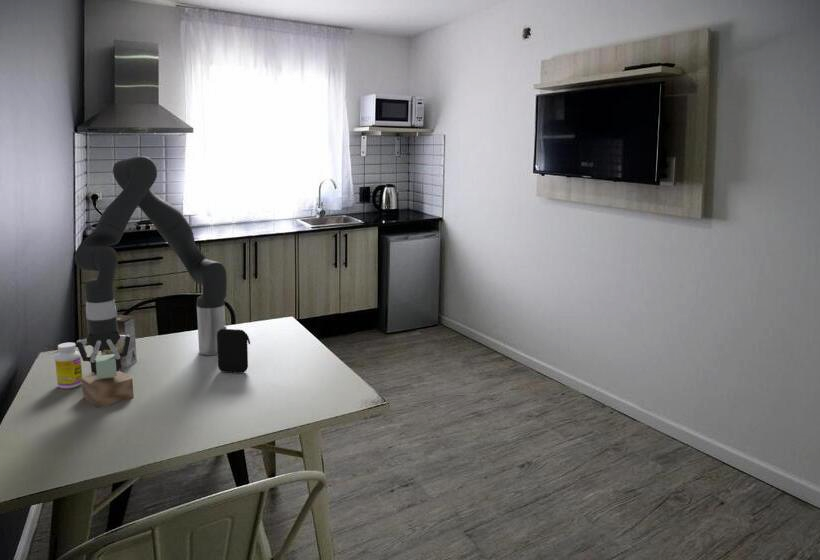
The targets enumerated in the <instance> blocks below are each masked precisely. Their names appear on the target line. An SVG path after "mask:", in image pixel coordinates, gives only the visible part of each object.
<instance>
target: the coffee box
mask: <svg viewBox="0 0 820 560" xmlns="http://www.w3.org/2000/svg"><path fill="white" fill-rule="evenodd" d="M116 315H117V327H118V332H119V334H120V335H127V334H129V335H130V342H129V348H128V353H127V356H124V357H122V358H121V368H129V366H131V365H133V364H134V363H136V362H137V361H138V360H137V359H138V358H137V345H136V344H137V342H136V327H135V316H134V315H126V314H125V315H124V314H116ZM123 345H124V343H123V342H122V340H121V339H119V340H118V342H117V343H116V347H117V349H118V351H119V352H122V350H123ZM100 353H101V355H109V354H113V352H112V351H111V350H102V351H100Z"/></svg>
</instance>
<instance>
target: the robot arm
mask: <svg viewBox="0 0 820 560" xmlns="http://www.w3.org/2000/svg"><path fill="white" fill-rule="evenodd" d="M112 174H113V178H114V179H115V181H116V183H117V184H118V186H119V187H120V188H121V189H122V191H121V192H120V193H119V194H118V195H117V196H116V197H115V199H113V201H112V202H111V203H110V204H109V205H108V206H107V207H106V208H105V209H104V211H103V212H102V214H101V215H100V218H99V220H98V222H97V223H96V226H95V227H94V229H93V231H92V232H91V233H90V234H88V236H86V238H84V240H83V241H82V242H81V243H80V244H79V246H78V247H77V249H76V250H75V254H74V262H75V266H77V267H78V268H79V269H81V270H83V271H92V272H93V271H94V272H98V276H97V277H95V278H91V279H88V280H86V281H85V283H84V293H85V317H86V324H87V325H86V327H87V336H86V338H83V339H77V340H76V348H77V350H78V352H79V353H80V356H81V360H82V361H83V362H89V364H90V369H91V370H90V371H91V373H92V374H93V375H97V370H96V356H98V353H99V352H101V351H102V350H111V351H112V352H113V354H114V356H115V359H116V371H120V370H121V369H122V367H121V358H122V357H124V356H127V353H128V348H129V342H130V335H129V334H127V335H120V334H119V332H118V327H117V315H118V313H117V312H118V311H117V307H116V302H115V301H116V300H115V293H114V292H115V291H114V282H115V277H116V271H117V268H118V264H119V263H118V261H119V257H118V254H117V251H116V250H115V249H114V248H113V247H112V246H115V245H117V244H118V243H119V242H120V241H121V239H122V237H123V235H124V233H125V230H126V228H127V226H128V224H129V222H130V220H131V217H132V216H133V214H134V212H135V211H136V209H137V208H138V207H139V209H140V210H141V211H142V212H143V213H144V215H145V216H146V218H148V221H150V222H151V223H152V224H153V226H154V228H155V229H156V230H157V232H158V233H159V235H160V236H161V237H162V238H163V240H164V241H165V242H166V243H167V244H168V245H169V247H170V249H172V251H173V252H174V253H175V254H176V256H177V257H178V258H179V259H180V261H181V262H182V264H183V265H184V267H185V269H186V270H187V272H188V274H189V276H190V277H191V279H192V280H193V281H194V282H195V283H196V284H198V285H200V286H202V295H200V296H198V297H196V315H197V316H196V317H197V318H196V319H197V336H198V351H199V354H201V355H203V356H216V355H217V354H218V350H217V332H218V331H219V330H220V329H228V328H227V327H228V326H227V325H226V314H225V312H226V311H225V300H226V296H227V282H228V281H227V279H228V278H227V271H226V268H225V265H224V264H223V263H221V262H219V261H216V260H211V259H209V258H207V257H206V256H205V255H204V254H203V253H202V251H201V250H200V248H199V247H198V245H197V244H196V241H195V236H194V232H193V228H192V226H191V225H190V223H189V222H188V221H187V220H186V218H185V216H184V215H183V214H182V213H181V212H180V210H178V208H176V207H175V206H173V205H172V204H170V203H169V202H167V201H166V200H164V199H162V198H160V197H159V196H158V195H156V193H154V192H153V191H152V190H151V188H152V186H153V185H154V184H155V182H156V179H157V177H158V169H157V165H156V164H155V163H154V161H153V160H152V159H151V158H150V157H148V156H144V155H143V156H142V155H140V156H134V157H130V158H125V159H122V160H118V161H116V162H115V163H114V164H113V167H112ZM119 339H121V340H122V342H123V343H124V345H123V350H122V352H119V351H118V349H117V347H116V343H117V342H118V340H119ZM87 343H88V345H90V346H91V347H92V350H91V354H90V355H88V353H87V352H86V349H85V347H86V346H87ZM217 356H218V355H217Z"/></svg>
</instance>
